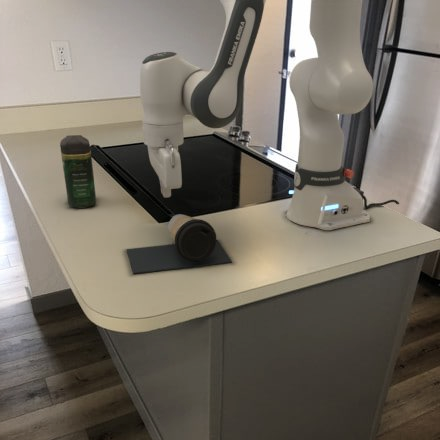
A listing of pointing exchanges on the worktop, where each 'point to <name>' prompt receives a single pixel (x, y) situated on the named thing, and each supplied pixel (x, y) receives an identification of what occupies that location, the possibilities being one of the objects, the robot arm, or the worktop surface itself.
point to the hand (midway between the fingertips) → (166, 195)
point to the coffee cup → (192, 237)
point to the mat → (170, 259)
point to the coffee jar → (78, 171)
